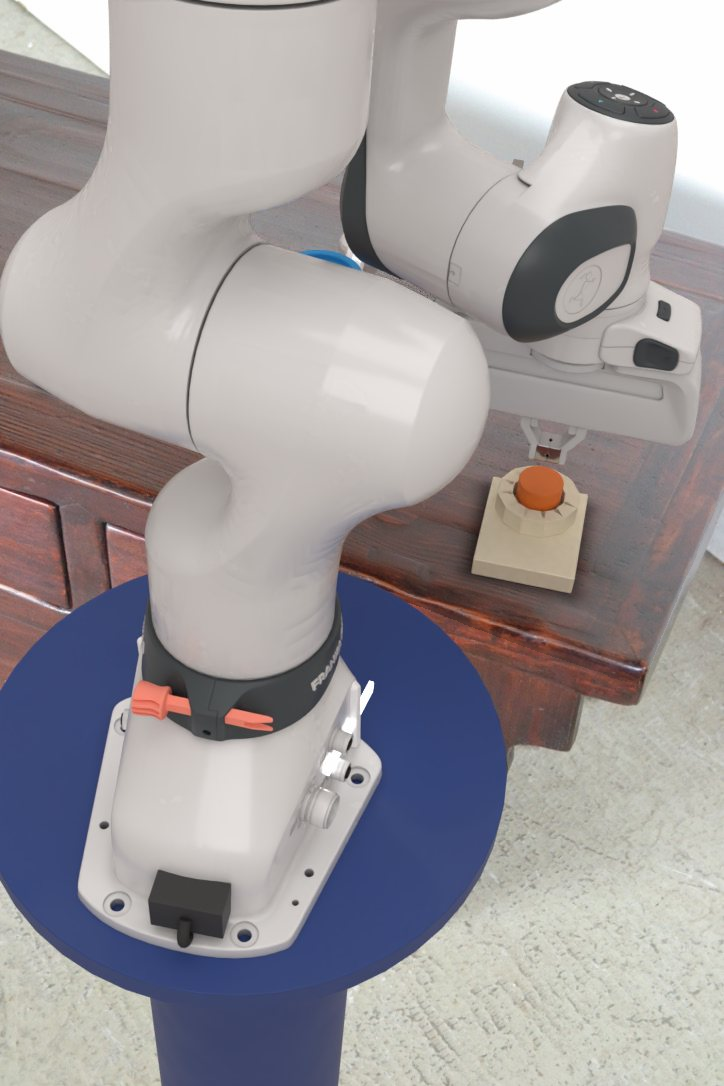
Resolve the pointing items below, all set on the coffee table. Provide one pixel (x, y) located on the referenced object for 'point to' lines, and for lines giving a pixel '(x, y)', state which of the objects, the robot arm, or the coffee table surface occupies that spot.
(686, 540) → the coffee table surface
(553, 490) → the button
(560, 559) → the button box
